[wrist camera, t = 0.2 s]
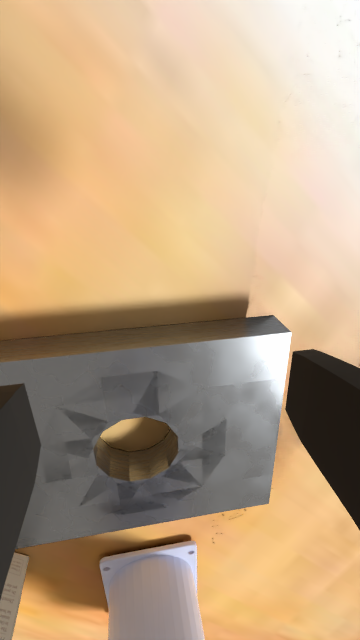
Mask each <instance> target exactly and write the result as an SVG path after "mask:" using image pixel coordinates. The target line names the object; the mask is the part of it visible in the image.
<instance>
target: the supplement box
mask: <svg viewBox="0 0 360 640" xmlns="http://www.w3.org/2000/svg"><path fill="white" fill-rule="evenodd" d="M28 561H29V556H26V555H22V554H18V553H15V552H14V555H13V558H12V561H11V565H10V568H9V571H8V575H7V578H6V581H5V585H4V588H3V592H2V596H1V600H0V640H12V636H13V631H14V627H15V622H16V618H17V613H18V608H19V604H20V599H21V594H22V589H23V584H24V580H25V575H26V570H27V566H28Z"/></svg>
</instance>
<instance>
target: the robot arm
mask: <svg viewBox="0 0 360 640" xmlns="http://www.w3.org/2000/svg"><path fill="white" fill-rule="evenodd" d="M285 410H286V412H287V414H288V416H289V418H290V421H291V423H292V425H293V427H294V429H295V431H296V433H297V435H298V437H299V439H300V440H301V442H302V444H303V445H304V447H305V448H306V450H307V451H308V453H309V455H310V456H311V458H312V459H313V461H314V462H315V464H316V465H317V467H318V468H319V470H320V471H321V473H322V474H323V476H324V477H325V478H326V480H327V481H328V483H329V484H330V486H331V487H332V489H333V490H334V492H335V493H336V495H337V496H338V498H339V499H340V501H341V502H342V504H343V505H344V507H345V508H346V510H347V511H348V513H349V514H350V516H351V517H352V519H353V520H354V522H355V524H356V525H357V527H358V528H359V530H360V368H358V367H356V366H353V365H351V364H349V363H347V362H344V361H342V360H340V359H337V358H335V357H333V356H330V355H328V354H325V353H323V352H320V351H317V350H314V349H311V350H303V351H294V352H293V355H292V363H291V370H290V378H289V386H288V393H287V401H286V408H285ZM40 449H41V442H40V439H39V435H38V431H37V428H36V424H35V420H34V417H33V413H32V410H31V406H30V402H29V399H28V395H27V392H26V388H25V384H24V383H22V384H13V385H5V386H0V600H1V596H2V592H3V588H4V585H5V581H6V578H7V575H8V571H9V568H10V565H11V561H12V558H13V555H14V552H15V548H16V545H17V542H18V538H19V535H20V532H21V528H22V525H23V522H24V518H25V515H26V512H27V508H28V505H29V502H30V498H31V495H32V491H33V488H34V484H35V479H36V474H37V468H38V462H39V455H40ZM100 571H101V575H102V580H103V585H104V589H105V594H106V599H107V603H108V608H109V627H108V640H205V637H204V632H203V627H202V621H201V616H200V610H199V605H198V599H197V545H196V542H195V541H186V542H181V543H175V544H170V545H165V546H160V547H154V548H149V549H144V550H139V551H133V552H128V553H123V554H118V555H112V556H107V557H103V558H102V559H101V560H100Z"/></svg>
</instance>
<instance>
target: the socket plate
mask: <svg viewBox="0 0 360 640" xmlns="http://www.w3.org/2000/svg"><path fill="white" fill-rule="evenodd" d="M290 340H291V331H289V330H288V329H287V328H286V327H285V326H284V325H283V324H282V323H281V322H280V321H279V320H278V319H277V318H276V317H275V316H274V315H269V316H258V317H248V318H237V319H227V320H216V321H206V322H195V323H184V324H174V325H163V326H153V327H142V328H132V329H121V330H110V331H100V332H89V333H79V334H68V335H57V336H47V337H36V338H26V339H15V340H5V341H0V386H5V385H13V384H22V383H24V384H25V388H26V392H27V395H28V399H29V402H30V406H31V410H32V413H33V417H34V420H35V424H36V428H37V431H38V435H39V439H40V442H41V449H40V455H39V462H38V468H37V474H36V479H35V484H34V488H33V491H32V495H31V498H30V502H29V505H28V508H27V512H26V515H25V518H24V522H23V525H22V528H21V532H20V535H19V538H18V542H17V545H16V548H15V549H19V548H24V547H30V546H35V545H41V544H46V543H52V542H57V541H63V540H69V539H74V538H80V537H85V536H91V535H96V534H102V533H107V532H113V531H119V530H124V529H130V528H135V527H141V526H146V525H152V524H157V523H163V522H169V521H174V520H180V519H185V518H191V517H196V516H202V515H207V514H213V513H219V512H224V511H230V510H235V509H241V508H246V507H252V506H257V505H263V504H269V498H270V490H271V483H272V475H273V468H274V460H275V453H276V445H277V438H278V430H279V423H280V415H281V407H282V400H283V392H284V385H285V377H286V370H287V362H288V355H289V347H290ZM139 417H148V418H152V419H155V420H158V421H161V422H165V423H167V424H168V426H169V427H170V428H171V429H170V431H169V433H168V434H167V436H166V437H165V439H164V440H163V441H161V442H160V443H158V444H156V445H154V446H153V447H151V448H149V449H147V450H141V451H134V452H126V451H122V450H118V449H114V448H111V447H110V446H109V445H108V444H106V443H105V442H104V441H103V440H102V439H101V438H100V435H101V433H102V432H103V431H104V430H106V429H108V428H109V427H111V426H113V425H114V424H116V423H118V422H119V421H121V420H124V419H132V418H139Z"/></svg>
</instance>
